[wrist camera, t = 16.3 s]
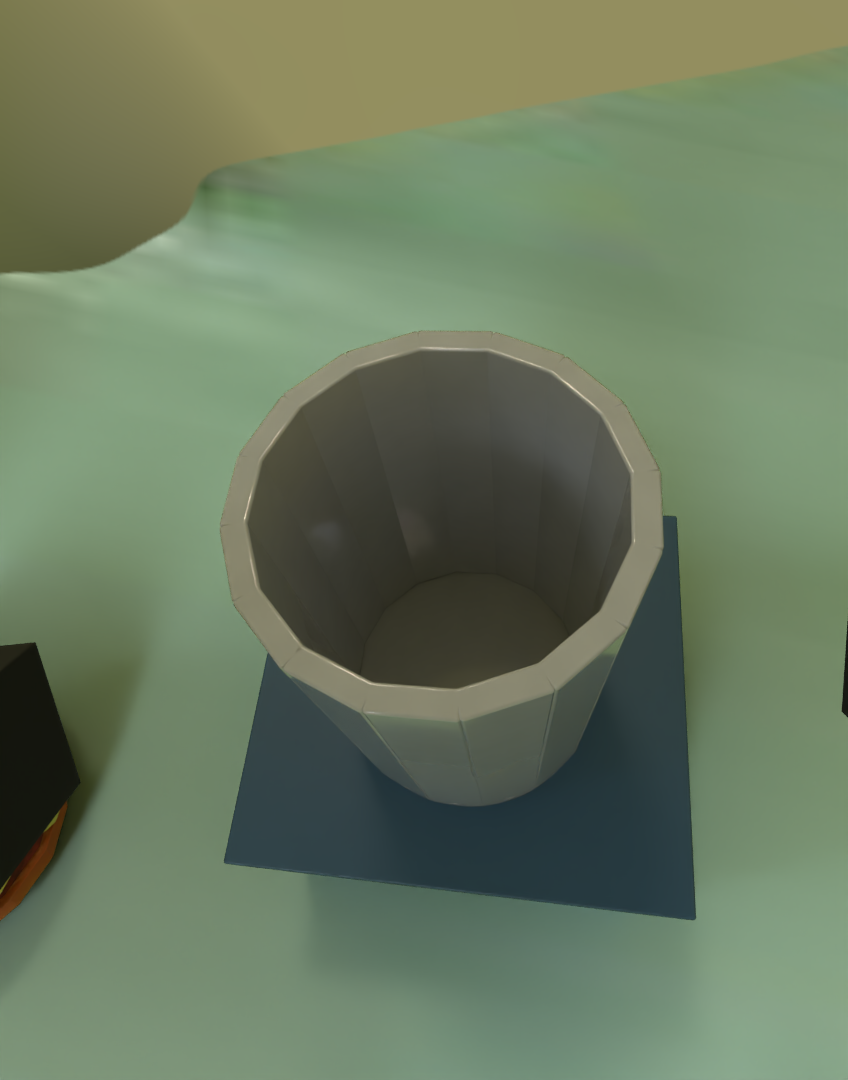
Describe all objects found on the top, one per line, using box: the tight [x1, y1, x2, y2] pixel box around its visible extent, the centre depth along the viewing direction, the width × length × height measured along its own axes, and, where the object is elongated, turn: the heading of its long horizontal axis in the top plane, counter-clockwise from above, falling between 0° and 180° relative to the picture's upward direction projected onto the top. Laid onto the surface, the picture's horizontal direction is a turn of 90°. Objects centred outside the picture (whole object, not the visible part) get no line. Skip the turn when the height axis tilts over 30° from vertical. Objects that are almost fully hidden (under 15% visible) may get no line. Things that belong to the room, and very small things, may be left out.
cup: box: [220, 331, 664, 807], centre depth 17 cm, size 7×7×11 cm
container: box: [224, 516, 696, 920], centre depth 25 cm, size 13×12×7 cm
